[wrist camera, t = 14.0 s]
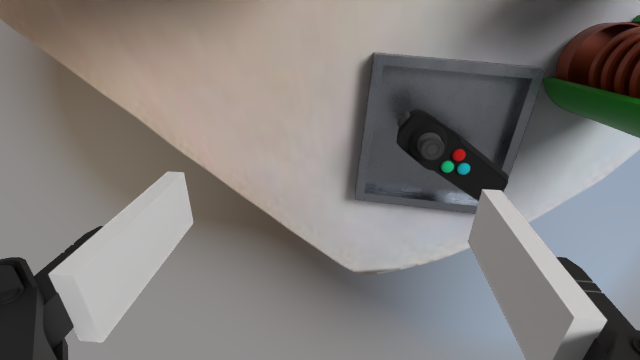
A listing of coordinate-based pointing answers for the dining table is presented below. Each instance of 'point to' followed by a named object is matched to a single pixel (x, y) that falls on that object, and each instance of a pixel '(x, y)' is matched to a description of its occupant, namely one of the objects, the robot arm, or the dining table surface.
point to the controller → (448, 154)
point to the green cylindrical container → (601, 76)
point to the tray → (453, 111)
